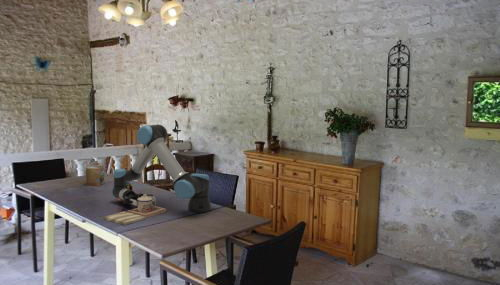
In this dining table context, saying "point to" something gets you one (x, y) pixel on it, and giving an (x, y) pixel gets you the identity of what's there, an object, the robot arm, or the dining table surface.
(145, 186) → the dining table surface
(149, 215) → the wooden picture frame
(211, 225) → the dining table surface
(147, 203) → the teacup with lid
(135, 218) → the ash board
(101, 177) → the milk carton
